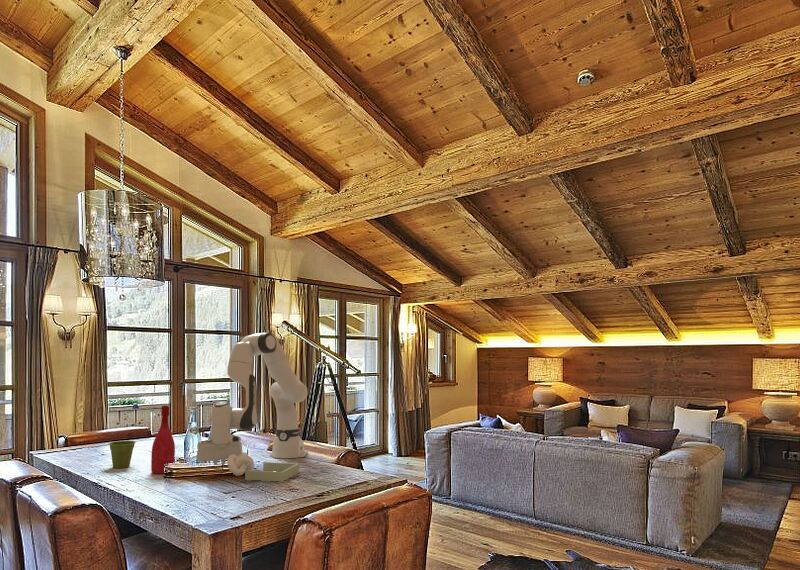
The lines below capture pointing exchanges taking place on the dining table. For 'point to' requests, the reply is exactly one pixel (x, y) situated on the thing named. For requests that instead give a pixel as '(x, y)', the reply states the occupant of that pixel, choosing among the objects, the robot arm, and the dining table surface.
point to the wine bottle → (162, 445)
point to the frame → (268, 475)
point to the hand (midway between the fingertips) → (219, 469)
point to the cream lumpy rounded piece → (240, 463)
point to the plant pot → (121, 453)
